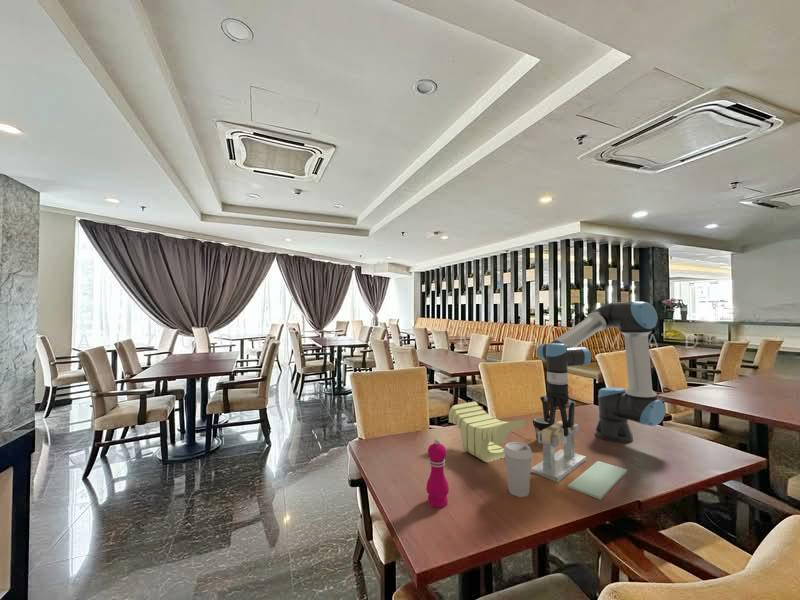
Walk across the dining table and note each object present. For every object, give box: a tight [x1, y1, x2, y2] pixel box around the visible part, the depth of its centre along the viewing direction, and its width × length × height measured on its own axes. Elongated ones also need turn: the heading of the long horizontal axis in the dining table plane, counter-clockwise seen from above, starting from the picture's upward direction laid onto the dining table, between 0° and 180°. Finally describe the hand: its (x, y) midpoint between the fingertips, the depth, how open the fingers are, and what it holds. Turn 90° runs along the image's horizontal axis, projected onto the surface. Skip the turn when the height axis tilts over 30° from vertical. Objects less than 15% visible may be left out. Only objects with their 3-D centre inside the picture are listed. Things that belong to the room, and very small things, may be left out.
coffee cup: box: [503, 441, 534, 498], centre depth 112 cm, size 10×10×15 cm
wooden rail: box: [542, 419, 573, 443], centre depth 131 cm, size 22×3×4 cm, turn 131°
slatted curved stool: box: [448, 401, 527, 463], centre depth 142 cm, size 30×16×18 cm, turn 28°
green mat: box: [567, 460, 628, 501], centre depth 120 cm, size 28×10×1 cm, turn 131°
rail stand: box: [530, 423, 587, 483], centre depth 131 cm, size 26×10×14 cm, turn 131°
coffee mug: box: [532, 417, 549, 445], centre depth 156 cm, size 12×9×10 cm
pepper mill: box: [426, 438, 450, 509], centre depth 107 cm, size 7×7×20 cm
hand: (559, 442), depth 131 cm, fingers closed on wooden rail, 3 cm apart
